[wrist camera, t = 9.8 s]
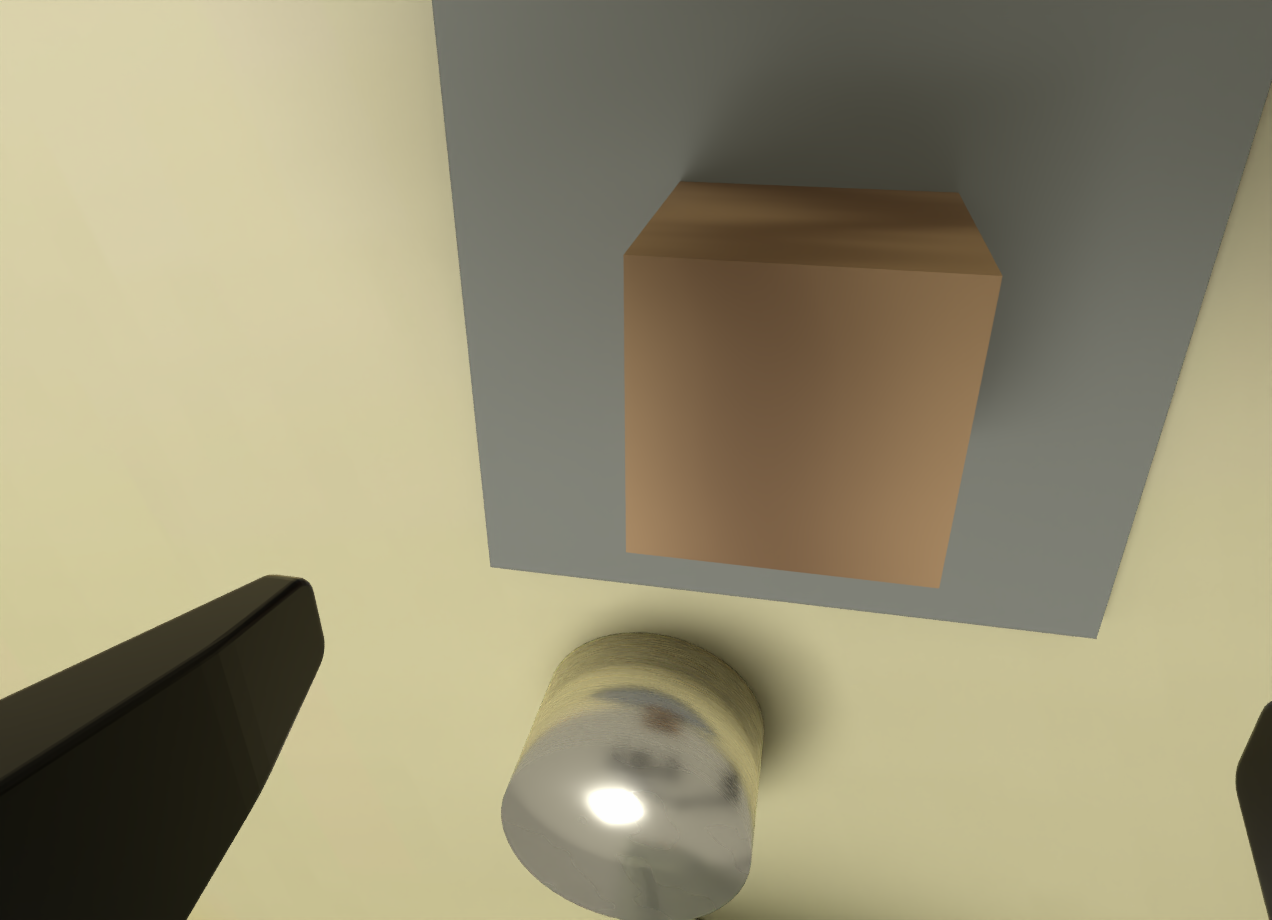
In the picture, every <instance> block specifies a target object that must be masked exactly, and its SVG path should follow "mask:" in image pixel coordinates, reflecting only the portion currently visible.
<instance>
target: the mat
mask: <svg viewBox="0 0 1272 920" xmlns="http://www.w3.org/2000/svg"><path fill="white" fill-rule="evenodd" d="M432 6H433V15H434V25H435V35H436V44H437V54H438V64H439V73H440V83H441V93H442V102H443V112H444V122H445V131H446V141H447V151H448V160H449V170H450V180H451V189H452V199H453V209H454V218H455V228H456V238H457V247H458V257H459V267H460V276H461V286H462V296H463V305H464V315H465V325H466V334H467V344H468V354H469V363H470V373H471V383H472V392H473V402H474V412H475V421H476V431H477V441H478V450H479V460H480V470H481V479H482V489H483V499H484V508H485V518H486V528H487V537H488V547H489V557H490V566H491V567H494V568H503V569H511V570H520V571H528V572H536V573H545V574H553V575H562V576H570V577H579V578H587V579H595V580H604V581H612V582H621V583H629V584H638V585H646V586H654V587H663V588H671V589H680V590H688V591H697V592H705V593H714V594H722V595H730V596H739V597H747V598H756V599H764V600H773V601H781V602H789V603H798V604H806V605H815V606H823V607H832V608H840V609H848V610H857V611H865V612H874V613H882V614H891V615H899V616H908V617H916V618H924V619H933V620H941V621H950V622H958V623H967V624H975V625H983V626H992V627H1000V628H1009V629H1017V630H1026V631H1034V632H1042V633H1051V634H1059V635H1068V636H1076V637H1085V638H1093V639H1096V638H1097V635H1098V632H1099V629H1100V625H1101V622H1102V619H1103V616H1104V613H1105V609H1106V606H1107V603H1108V600H1109V597H1110V594H1111V590H1112V587H1113V584H1114V581H1115V578H1116V575H1117V571H1118V568H1119V565H1120V562H1121V559H1122V555H1123V552H1124V549H1125V546H1126V543H1127V540H1128V536H1129V533H1130V530H1131V527H1132V524H1133V521H1134V517H1135V514H1136V511H1137V508H1138V505H1139V501H1140V498H1141V495H1142V492H1143V489H1144V486H1145V482H1146V479H1147V476H1148V473H1149V470H1150V467H1151V463H1152V460H1153V457H1154V454H1155V451H1156V447H1157V444H1158V441H1159V438H1160V435H1161V432H1162V428H1163V425H1164V422H1165V419H1166V416H1167V412H1168V409H1169V406H1170V403H1171V400H1172V397H1173V393H1174V390H1175V387H1176V384H1177V381H1178V378H1179V374H1180V371H1181V368H1182V365H1183V362H1184V358H1185V355H1186V352H1187V349H1188V346H1189V343H1190V339H1191V336H1192V333H1193V330H1194V327H1195V324H1196V320H1197V317H1198V314H1199V311H1200V308H1201V304H1202V301H1203V298H1204V295H1205V292H1206V289H1207V285H1208V282H1209V279H1210V276H1211V273H1212V269H1213V266H1214V263H1215V260H1216V257H1217V254H1218V250H1219V247H1220V244H1221V241H1222V238H1223V235H1224V231H1225V228H1226V225H1227V222H1228V219H1229V215H1230V212H1231V209H1232V206H1233V203H1234V200H1235V196H1236V193H1237V190H1238V187H1239V184H1240V181H1241V177H1242V174H1243V171H1244V168H1245V165H1246V161H1247V158H1248V155H1249V152H1250V149H1251V146H1252V142H1253V139H1254V136H1255V133H1256V130H1257V127H1258V123H1259V120H1260V117H1261V114H1262V111H1263V107H1264V104H1265V101H1266V98H1267V95H1268V92H1269V88H1270V85H1271V82H1272V0H432ZM680 181H683V182H708V183H733V184H757V185H782V186H807V187H832V188H857V189H881V190H906V191H931V192H956V193H959V194H960V196H961V198H962V200H963V202H964V204H965V206H966V207H967V209H968V211H969V213H970V215H971V217H972V219H973V221H974V223H975V225H976V226H977V228H978V230H979V232H980V234H981V236H982V238H983V240H984V242H985V244H986V245H987V247H988V249H989V251H990V253H991V255H992V257H993V259H994V261H995V263H996V264H997V266H998V268H999V270H1000V272H1001V274H1002V281H1001V286H1000V291H999V296H998V301H997V306H996V311H995V316H994V321H993V326H992V331H991V336H990V340H989V345H988V350H987V355H986V360H985V365H984V370H983V375H982V380H981V385H980V390H979V395H978V400H977V404H976V409H975V414H974V419H973V424H972V429H971V434H970V439H969V444H968V449H967V454H966V459H965V463H964V468H963V473H962V478H961V483H960V488H959V493H958V498H957V503H956V508H955V513H954V518H953V523H952V527H951V532H950V537H949V542H948V547H947V552H946V557H945V562H944V567H943V572H942V577H941V582H940V587H939V588H931V587H922V586H914V585H905V584H896V583H888V582H879V581H870V580H862V579H853V578H844V577H836V576H827V575H818V574H810V573H801V572H792V571H784V570H775V569H767V568H758V567H749V566H741V565H732V564H723V563H715V562H706V561H697V560H689V559H680V558H671V557H663V556H654V555H645V554H637V553H628V552H626V497H625V378H624V260H623V255H624V254H625V252H626V251H627V250H628V248H629V247H630V246H631V244H632V243H633V242H634V241H635V239H636V238H637V237H638V235H639V234H640V233H641V231H642V230H643V229H644V227H645V226H646V225H647V224H648V222H649V221H650V220H651V218H652V217H653V216H654V214H655V213H656V212H657V211H658V209H659V208H660V207H661V205H662V204H663V203H664V201H665V200H666V199H667V198H668V196H669V195H670V194H671V192H672V191H673V190H674V188H675V187H676V186H677V184H678V183H679V182H680Z"/></svg>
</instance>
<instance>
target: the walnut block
mask: <svg viewBox="0 0 1272 920" xmlns="http://www.w3.org/2000/svg"><path fill="white" fill-rule="evenodd" d="M623 260H624V378H625V497H626V552H628V553H637V554H645V555H654V556H663V557H671V558H680V559H689V560H697V561H706V562H715V563H723V564H732V565H741V566H749V567H758V568H767V569H775V570H784V571H792V572H801V573H810V574H818V575H827V576H836V577H844V578H853V579H862V580H870V581H879V582H888V583H896V584H905V585H914V586H922V587H931V588H939V587H940V582H941V577H942V572H943V567H944V562H945V557H946V552H947V547H948V542H949V537H950V532H951V527H952V523H953V518H954V513H955V508H956V503H957V498H958V493H959V488H960V483H961V478H962V473H963V468H964V463H965V459H966V454H967V449H968V444H969V439H970V434H971V429H972V424H973V419H974V414H975V409H976V404H977V400H978V395H979V390H980V385H981V380H982V375H983V370H984V365H985V360H986V355H987V350H988V345H989V340H990V336H991V331H992V326H993V321H994V316H995V311H996V306H997V301H998V296H999V291H1000V286H1001V281H1002V274H1001V272H1000V270H999V268H998V266H997V264H996V263H995V261H994V259H993V257H992V255H991V253H990V251H989V249H988V247H987V245H986V244H985V242H984V240H983V238H982V236H981V234H980V232H979V230H978V228H977V226H976V225H975V223H974V221H973V219H972V217H971V215H970V213H969V211H968V209H967V207H966V206H965V204H964V202H963V200H962V198H961V196H960V194H959V193H956V192H931V191H906V190H881V189H857V188H832V187H807V186H782V185H757V184H733V183H708V182H683V181H680V182H679V183H678V184H677V186H676V187H675V188H674V190H673V191H672V192H671V194H670V195H669V196H668V198H667V199H666V200H665V201H664V203H663V204H662V205H661V207H660V208H659V209H658V211H657V212H656V213H655V214H654V216H653V217H652V218H651V220H650V221H649V222H648V224H647V225H646V226H645V227H644V229H643V230H642V231H641V233H640V234H639V235H638V237H637V238H636V239H635V241H634V242H633V243H632V244H631V246H630V247H629V248H628V250H627V251H626V252H625V254H624V255H623Z"/></svg>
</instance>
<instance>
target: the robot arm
mask: <svg viewBox="0 0 1272 920" xmlns="http://www.w3.org/2000/svg"><path fill="white" fill-rule="evenodd" d="M323 654H324V636H323V631H322V627H321V622H320V618H319V614H318V609H317V605H316V600H315V596H314V592H313V589H312V586H311V585H310V583H309V582H308V581H307V580H305V579H303V578H299V577H291V576H283V575H266V576H264V577H262V578H259V579H257V580H255V581H253V582H251V583H249V584H247V585H244V586H242V587H240V588H238V589H236V590H234V591H232V592H229V593H227V594H225V595H223V596H221V597H219V598H217V599H215V600H212V601H210V602H208V603H206V604H204V605H202V606H200V607H197V608H195V609H193V610H191V611H189V612H187V613H185V614H182V615H180V616H178V617H176V618H174V619H172V620H170V621H167V622H165V623H163V624H161V625H159V626H157V627H155V628H153V629H150V630H148V631H146V632H144V633H142V634H140V635H138V636H135V637H133V638H131V639H129V640H127V641H125V642H123V643H120V644H118V645H116V646H114V647H112V648H110V649H108V650H106V651H103V652H101V653H99V654H97V655H95V656H93V657H91V658H88V659H86V660H84V661H82V662H80V663H78V664H76V665H73V666H71V667H69V668H67V669H65V670H63V671H61V672H58V673H56V674H54V675H52V676H50V677H48V678H46V679H44V680H41V681H39V682H37V683H35V684H33V685H31V686H29V687H26V688H24V689H22V690H20V691H18V692H16V693H14V694H11V695H9V696H7V697H5V698H3V699H1V700H0V920H187V918H188V916H189V915H190V913H191V911H192V910H193V908H194V906H195V904H196V903H197V901H198V899H199V898H200V896H201V894H202V893H203V891H204V889H205V888H206V886H207V884H208V882H209V881H210V879H211V877H212V876H213V874H214V872H215V871H216V869H217V867H218V865H219V864H220V862H221V860H222V859H223V857H224V855H225V854H226V852H227V850H228V848H229V847H230V845H231V843H232V842H233V840H234V838H235V837H236V835H237V833H238V832H239V830H240V828H241V826H242V825H243V823H244V821H245V820H246V818H247V816H248V815H249V813H250V811H251V809H252V807H253V806H254V804H255V802H256V800H257V798H258V797H259V795H260V793H261V791H262V789H263V787H264V785H265V783H266V781H267V779H268V777H269V775H270V773H271V771H272V769H273V767H274V765H275V762H276V760H277V758H278V756H279V754H280V752H281V749H282V747H283V745H284V743H285V741H286V739H287V736H288V734H289V732H290V730H291V728H292V725H293V723H294V721H295V719H296V717H297V715H298V712H299V710H300V708H301V706H302V704H303V702H304V699H305V697H306V695H307V693H308V691H309V688H310V686H311V684H312V682H313V680H314V678H315V675H316V673H317V671H318V669H319V667H320V664H321V662H322V658H323ZM1236 791H1237V796H1238V800H1239V804H1240V808H1241V812H1242V816H1243V820H1244V824H1245V827H1246V831H1247V835H1248V839H1249V843H1250V847H1251V851H1252V855H1253V859H1254V863H1255V866H1256V870H1257V874H1258V878H1259V882H1260V886H1261V890H1262V894H1263V898H1264V902H1265V906H1266V909H1267V913H1268V917H1269V920H1272V701H1271V702H1269V703H1268V704H1267V705H1266V706H1265V707H1264V709H1263V711H1262V712H1261V714H1260V716H1259V719H1258V721H1257V723H1256V725H1255V727H1254V730H1253V732H1252V734H1251V736H1250V738H1249V741H1248V743H1247V745H1246V747H1245V749H1244V752H1243V754H1242V756H1241V758H1240V760H1239V763H1238V766H1237V771H1236Z"/></svg>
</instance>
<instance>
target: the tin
mask: <svg viewBox="0 0 1272 920" xmlns="http://www.w3.org/2000/svg"><path fill="white" fill-rule="evenodd" d="M763 738H764V724H763V718H762V713H761V710H760V707H759V704H758V702H757V700H756V698H755V696H754V694H753V692H752V691H751V690H750V688H749V687H748V685H747V684H746V683H745V681H744V680H743V679H742V678H741V677H740V676H739V675H738V674H737V673H736V672H735V671H734V670H733V669H732V668H731V667H730V666H728V665H727V664H726V663H725V662H724V661H722V660H721V659H719V658H718V657H716V656H715V655H713V654H712V653H710V652H708V651H706V650H704V649H702V648H700V647H698V646H696V645H693V644H691V643H688V642H686V641H683V640H680V639H676V638H673V637H669V636H664V635H658V634H651V633H621V634H614V635H609V636H605V637H601V638H597V639H595V640H592V641H590V642H588V643H585V644H584V645H582V646H580V647H578V648H577V649H575V650H574V651H573V652H571V653H570V654H569V655H568V656H567V657H566V658H565V659H564V660H563V661H562V662H561V663H560V664H559V666H558V667H557V669H556V671H555V672H554V674H553V676H552V679H551V681H550V684H549V686H548V689H547V691H546V694H545V696H544V699H543V701H542V703H541V706H540V708H539V711H538V713H537V716H536V718H535V721H534V723H533V726H532V728H531V730H530V733H529V735H528V738H527V740H526V743H525V745H524V748H523V750H522V753H521V755H520V757H519V760H518V762H517V765H516V767H515V770H514V772H513V775H512V777H511V780H510V782H509V784H508V787H507V789H506V792H505V794H504V797H503V802H502V807H501V817H502V824H503V829H504V832H505V835H506V838H507V841H508V843H509V845H510V846H511V848H512V850H513V852H514V853H515V855H516V856H517V858H518V859H519V860H520V862H521V863H522V864H523V865H524V866H525V867H526V869H527V870H528V871H529V872H530V873H531V874H532V875H533V876H534V877H536V878H537V879H538V880H539V881H540V882H541V883H542V884H544V885H545V886H547V887H548V888H549V889H551V890H552V891H553V892H555V893H557V894H558V895H560V896H562V897H563V898H565V899H567V900H569V901H571V902H573V903H575V904H577V905H579V906H581V907H583V908H586V909H588V910H591V911H593V912H596V913H599V914H602V915H606V916H609V917H613V918H617V919H622V920H690V919H695V918H698V917H701V916H704V915H707V914H709V913H711V912H713V911H715V910H717V909H719V908H721V907H722V906H724V905H725V904H727V903H728V902H729V901H731V900H732V899H733V898H734V897H735V896H736V895H737V894H738V892H739V891H740V890H741V888H742V887H743V885H744V884H745V881H746V879H747V877H748V874H749V870H750V865H751V858H752V848H753V838H754V828H755V818H756V808H757V798H758V788H759V778H760V768H761V758H762V748H763Z"/></svg>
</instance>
